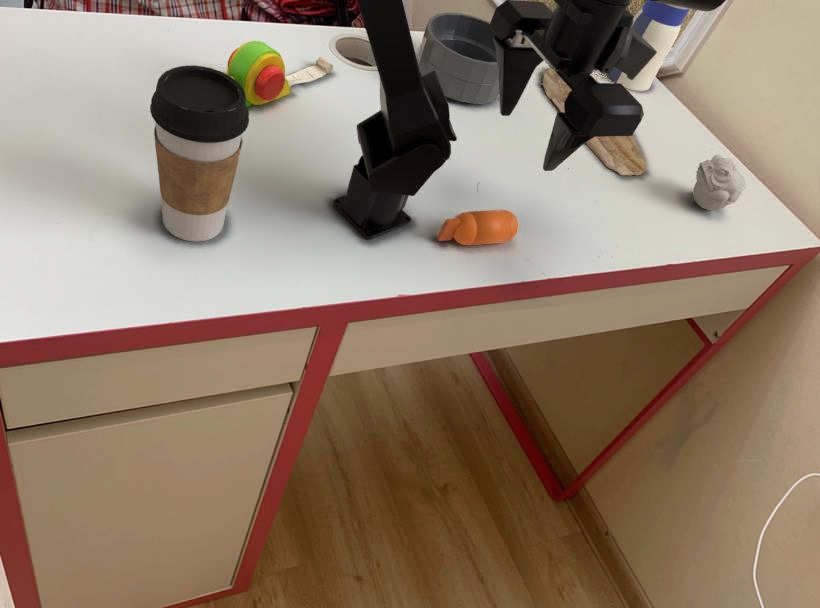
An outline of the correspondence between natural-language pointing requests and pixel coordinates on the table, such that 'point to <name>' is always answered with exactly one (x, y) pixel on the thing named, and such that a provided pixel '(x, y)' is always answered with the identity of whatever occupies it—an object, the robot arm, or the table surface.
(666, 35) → the water bottle
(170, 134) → the coffee cup
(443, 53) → the grey round pot
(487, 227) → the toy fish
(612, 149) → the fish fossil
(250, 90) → the toy measuring tape
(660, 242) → the table surface
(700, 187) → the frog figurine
